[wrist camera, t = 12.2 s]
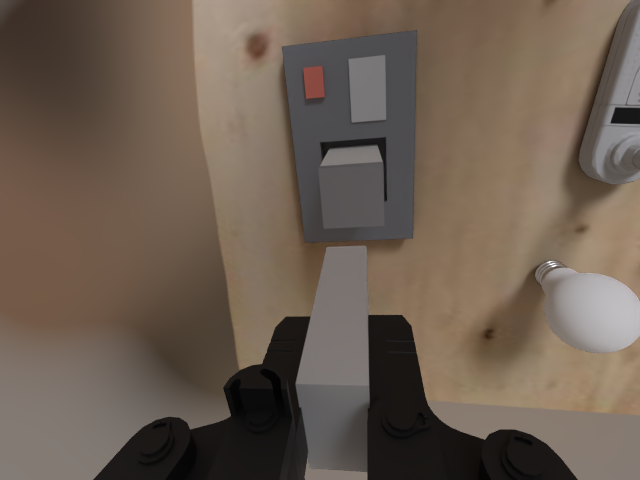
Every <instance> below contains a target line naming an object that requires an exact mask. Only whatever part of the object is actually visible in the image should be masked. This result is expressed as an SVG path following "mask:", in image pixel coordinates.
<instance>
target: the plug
mask: <svg viewBox="0 0 640 480" xmlns="http://www.w3.org/2000/svg"><path fill="white" fill-rule="evenodd" d="M318 172H319V183H320V194H321V204H322V215H323V226H324V229H328V228H350V227H373V226H385V225H384V170H383V162H382V158H381V155H380V152H379V148H378V145H377V144H369V145H356V146H343V147H331V148H330V149H329V150H328V152H327V154H326V156H325V158H324V159H323V161H322V163H321V165H320V167H319V168H318Z"/></svg>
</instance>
